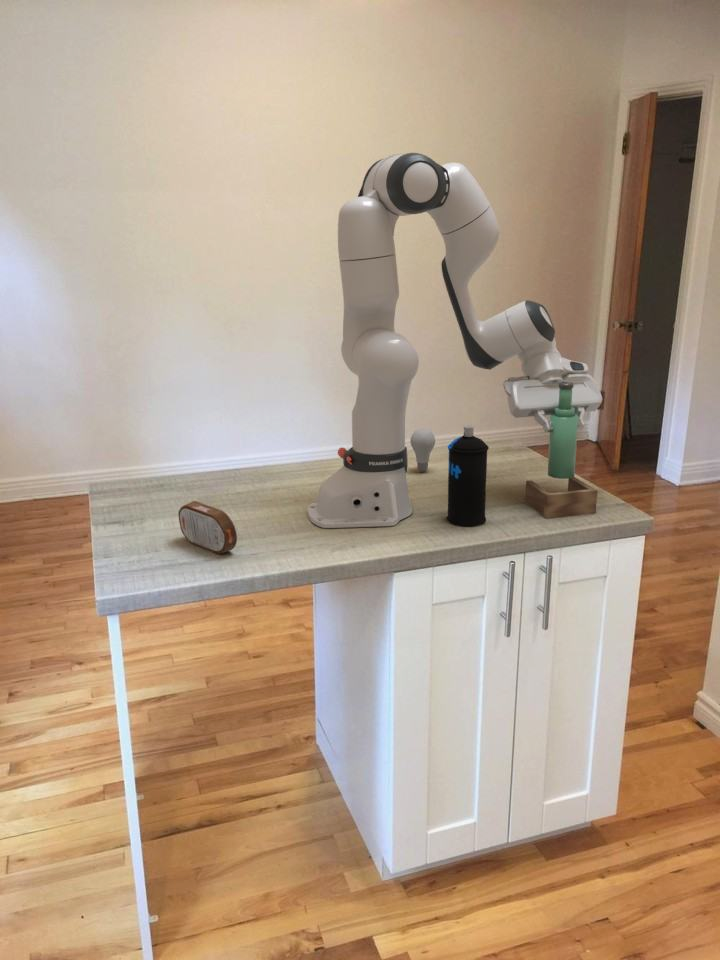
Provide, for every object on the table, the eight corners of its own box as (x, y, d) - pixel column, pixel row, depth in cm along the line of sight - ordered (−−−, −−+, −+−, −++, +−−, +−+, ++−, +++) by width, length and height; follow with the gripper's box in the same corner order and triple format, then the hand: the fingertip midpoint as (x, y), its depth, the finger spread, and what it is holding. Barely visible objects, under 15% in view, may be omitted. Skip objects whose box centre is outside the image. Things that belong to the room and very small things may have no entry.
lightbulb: (422, 466, 201) (423, 424, 197) (439, 471, 196) (440, 429, 193) (405, 471, 197) (405, 428, 194) (422, 476, 192) (422, 433, 189)
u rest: (546, 518, 164) (547, 495, 162) (524, 502, 173) (526, 481, 172) (595, 512, 166) (597, 490, 165) (572, 497, 176) (573, 476, 174)
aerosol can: (485, 513, 167) (488, 421, 161) (487, 527, 159) (490, 431, 153) (446, 512, 168) (447, 421, 162) (446, 526, 160) (448, 431, 154)
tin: (239, 554, 148) (236, 512, 146) (226, 560, 146) (223, 517, 143) (190, 536, 158) (187, 496, 155) (177, 540, 156) (174, 500, 153)
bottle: (555, 479, 165) (560, 386, 159) (543, 472, 170) (547, 381, 164) (579, 477, 166) (585, 384, 160) (566, 469, 172) (571, 379, 165)
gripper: (505, 369, 166) (524, 425, 160) (593, 363, 170) (614, 417, 164) (496, 386, 171) (514, 441, 165) (582, 380, 176) (602, 433, 170)
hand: (565, 429), depth 165 cm, fingers closed on bottle, 6 cm apart
